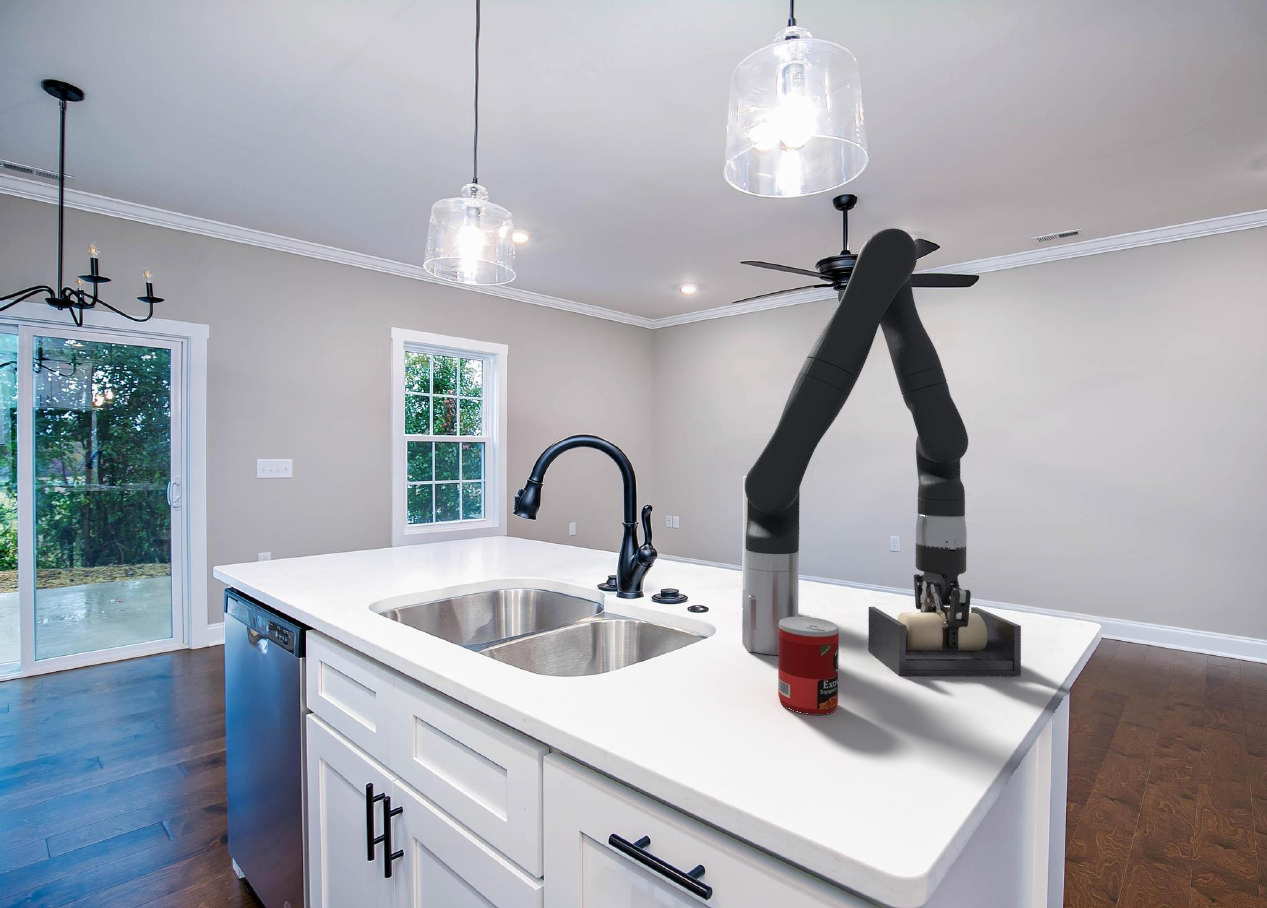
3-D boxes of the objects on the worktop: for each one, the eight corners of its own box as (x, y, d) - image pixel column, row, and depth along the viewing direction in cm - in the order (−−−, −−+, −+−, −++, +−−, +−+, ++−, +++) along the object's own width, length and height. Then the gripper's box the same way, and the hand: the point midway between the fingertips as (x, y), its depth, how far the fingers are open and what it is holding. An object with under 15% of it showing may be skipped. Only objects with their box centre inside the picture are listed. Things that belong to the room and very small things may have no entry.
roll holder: (899, 676, 95) (899, 625, 95) (868, 651, 107) (868, 606, 107) (1020, 676, 96) (1020, 626, 96) (976, 652, 108) (976, 607, 108)
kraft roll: (906, 656, 99) (907, 619, 98) (890, 642, 105) (891, 607, 104) (992, 656, 99) (994, 619, 99) (971, 643, 105) (973, 608, 104)
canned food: (830, 721, 79) (830, 634, 79) (769, 707, 83) (770, 625, 83) (844, 701, 85) (845, 621, 85) (787, 689, 89) (788, 613, 89)
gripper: (898, 536, 109) (897, 632, 109) (940, 548, 94) (939, 658, 94) (940, 536, 109) (940, 632, 109) (989, 549, 94) (988, 659, 94)
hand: (940, 644), depth 101 cm, fingers closed on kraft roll, 6 cm apart
